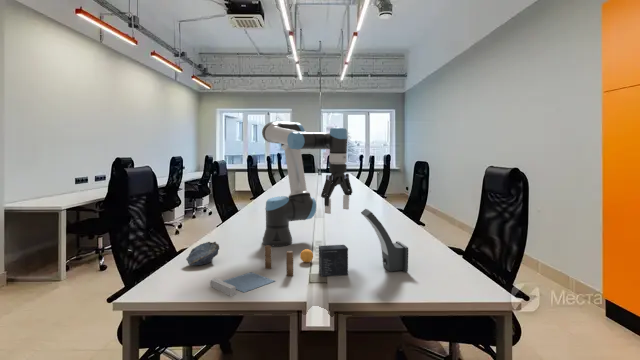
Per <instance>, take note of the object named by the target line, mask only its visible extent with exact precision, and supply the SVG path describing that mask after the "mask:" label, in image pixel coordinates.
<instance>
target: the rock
mask: <svg viewBox="0 0 640 360" xmlns="http://www.w3.org/2000/svg"><path fill="white" fill-rule="evenodd" d="M219 245H220V244H219V243H217V242H216V241H213V242H211V241H206V242H203V243H200V244H199V245H197V246H196V247H194V248H192V249H191V250H190V253H189V254H188V256H187V257H186V259H185V260H186V262H187V263H188V265H189V266H203V265H209V264H210V263H211V262H212V261H213V259H214V258H215V257H216V256H217V255H218V254H219V250H220V246H219Z"/></svg>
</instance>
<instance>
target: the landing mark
mask: <svg viewBox="0 0 640 360" xmlns="http://www.w3.org/2000/svg"><path fill="white" fill-rule="evenodd" d="M222 281H223V282H226V283H228V284H230V285H233V286H235V287H236V291H239V292H242V293H247V292H249V291H252V290H255V289H257V288H260V287H263V286H266V285H269V284H272V283H274V282H276V280H274V279H271V278H269V277H267V276H263V275H260V274H258V273H254V272H252V271H251V272H247V273H244V274H240V275H237V276H235V277H230V278H228V279H225V280H222Z"/></svg>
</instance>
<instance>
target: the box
mask: <svg viewBox="0 0 640 360" xmlns="http://www.w3.org/2000/svg"><path fill="white" fill-rule="evenodd" d="M318 272H319V274H320V277H336V276H337V277H338V276H348V275H349V248H348V247H347V246H346V245H345V244H328V245H319V246H318Z"/></svg>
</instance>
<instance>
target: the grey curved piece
mask: <svg viewBox="0 0 640 360" xmlns="http://www.w3.org/2000/svg"><path fill="white" fill-rule="evenodd" d="M360 213H361V215H362V216H363V217H364V218H365V219H366V220H367V222H368V223H369V224H370V226H371V227H372V228H373V229H374V232H375V233H376V235H377V238H378V240H379V244H380V247H381V257H382V266H383V267H384V268H385V269H386V270H387V272H391V273H392V272H398V271H399V272H400V271H403V272H404V273H408V271H409V247H408V246H407V245H405V244H404V243H402V242H401V241H395V242H393V240H392V239H391V237H390V235H389V234H388V231H387V230H386V228H385V227H384V225H383V224H382V223H381V221H380V220H379V219H378V218H377V217H376V216H375V214H374V213H373V212H372V210H369V209H368V208H364V209H363V210H362V211H361V212H360Z"/></svg>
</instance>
